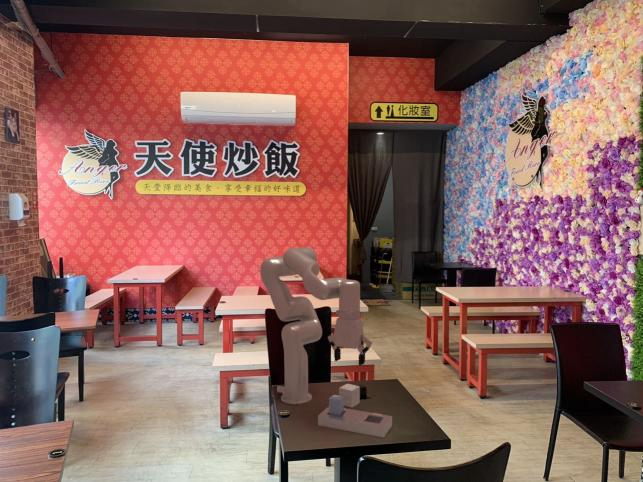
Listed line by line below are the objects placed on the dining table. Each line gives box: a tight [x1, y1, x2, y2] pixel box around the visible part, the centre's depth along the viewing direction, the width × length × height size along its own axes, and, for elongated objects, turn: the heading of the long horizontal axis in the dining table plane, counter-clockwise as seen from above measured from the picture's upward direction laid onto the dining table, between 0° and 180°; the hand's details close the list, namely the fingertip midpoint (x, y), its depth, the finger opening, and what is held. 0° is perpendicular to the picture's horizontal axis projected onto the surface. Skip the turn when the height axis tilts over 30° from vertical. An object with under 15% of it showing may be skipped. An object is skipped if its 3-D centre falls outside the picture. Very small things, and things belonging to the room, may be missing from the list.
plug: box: [328, 394, 345, 417], centre depth 168 cm, size 4×4×10 cm
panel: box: [317, 405, 393, 439], centre depth 165 cm, size 24×10×4 cm, turn 65°
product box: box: [338, 383, 361, 409], centre depth 185 cm, size 6×6×7 cm
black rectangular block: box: [355, 383, 373, 401], centre depth 195 cm, size 12×7×5 cm, turn 22°
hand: (349, 362), depth 168 cm, fingers open, 9 cm apart
